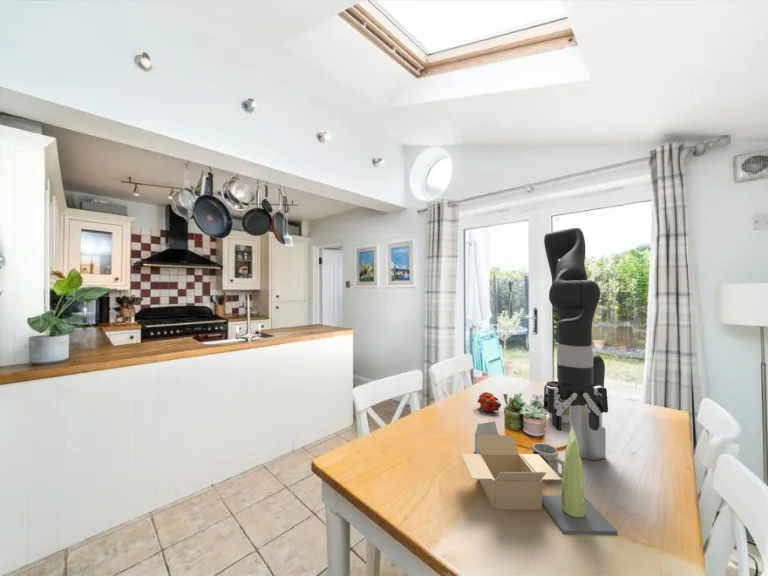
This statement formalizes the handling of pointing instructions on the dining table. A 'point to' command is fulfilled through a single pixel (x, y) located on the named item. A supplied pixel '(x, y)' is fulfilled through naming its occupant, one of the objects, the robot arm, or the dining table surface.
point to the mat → (570, 524)
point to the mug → (549, 456)
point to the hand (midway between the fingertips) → (575, 429)
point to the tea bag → (484, 432)
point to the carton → (508, 473)
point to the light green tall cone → (573, 479)
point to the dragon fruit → (488, 402)
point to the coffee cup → (566, 412)
